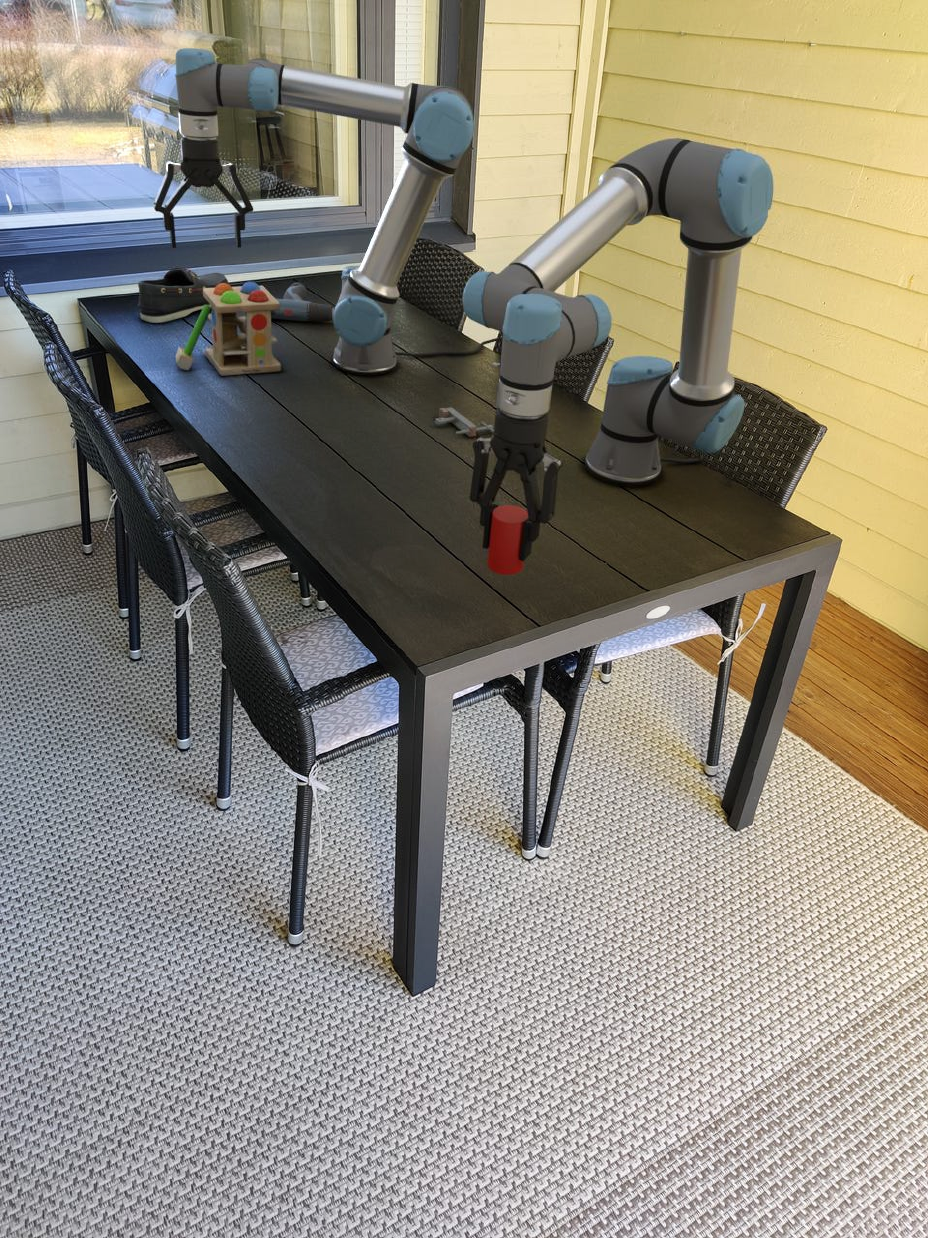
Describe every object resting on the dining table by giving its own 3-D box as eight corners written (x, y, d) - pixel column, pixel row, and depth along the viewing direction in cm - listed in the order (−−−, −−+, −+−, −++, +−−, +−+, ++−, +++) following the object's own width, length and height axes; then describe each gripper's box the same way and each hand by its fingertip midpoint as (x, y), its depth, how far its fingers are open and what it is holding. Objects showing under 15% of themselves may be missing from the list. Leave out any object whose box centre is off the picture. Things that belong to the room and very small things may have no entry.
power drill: (344, 304, 276) (335, 327, 259) (277, 298, 275) (264, 321, 258) (344, 285, 273) (335, 306, 256) (277, 279, 272) (264, 300, 255)
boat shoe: (248, 301, 272) (246, 262, 267) (158, 325, 248) (153, 283, 243) (214, 293, 278) (211, 255, 272) (123, 315, 254) (117, 274, 248)
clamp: (427, 409, 212) (467, 404, 217) (426, 419, 213) (466, 413, 218) (461, 437, 202) (502, 430, 206) (460, 447, 203) (501, 440, 208)
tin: (480, 563, 153) (484, 511, 148) (505, 552, 156) (511, 501, 151) (503, 578, 150) (509, 526, 144) (529, 568, 153) (536, 516, 148)
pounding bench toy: (183, 379, 220) (176, 299, 210) (169, 357, 231) (162, 280, 221) (282, 371, 230) (280, 294, 220) (264, 350, 240) (262, 276, 230)
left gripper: (136, 138, 191) (147, 251, 203) (264, 142, 199) (268, 250, 211) (133, 131, 197) (143, 241, 209) (257, 135, 205) (261, 241, 217)
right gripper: (451, 402, 138) (442, 543, 152) (573, 435, 132) (552, 579, 145) (475, 385, 144) (464, 523, 157) (593, 416, 138) (571, 557, 151)
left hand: (206, 246), depth 210 cm, fingers open, 13 cm apart
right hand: (506, 550), depth 151 cm, fingers closed on tin, 5 cm apart
